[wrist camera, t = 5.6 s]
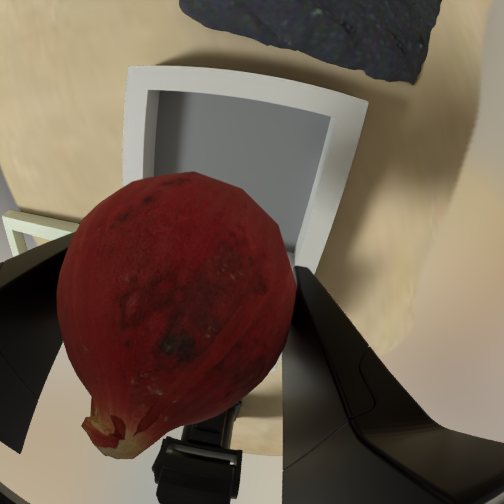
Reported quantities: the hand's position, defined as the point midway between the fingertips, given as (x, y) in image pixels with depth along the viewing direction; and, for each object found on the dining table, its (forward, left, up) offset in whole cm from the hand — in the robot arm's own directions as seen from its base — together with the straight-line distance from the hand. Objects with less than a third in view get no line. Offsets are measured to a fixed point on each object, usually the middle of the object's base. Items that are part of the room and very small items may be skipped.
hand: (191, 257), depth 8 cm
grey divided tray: (-5, 0, -9) cm, 10 cm away
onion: (0, 0, -2) cm, 2 cm away
